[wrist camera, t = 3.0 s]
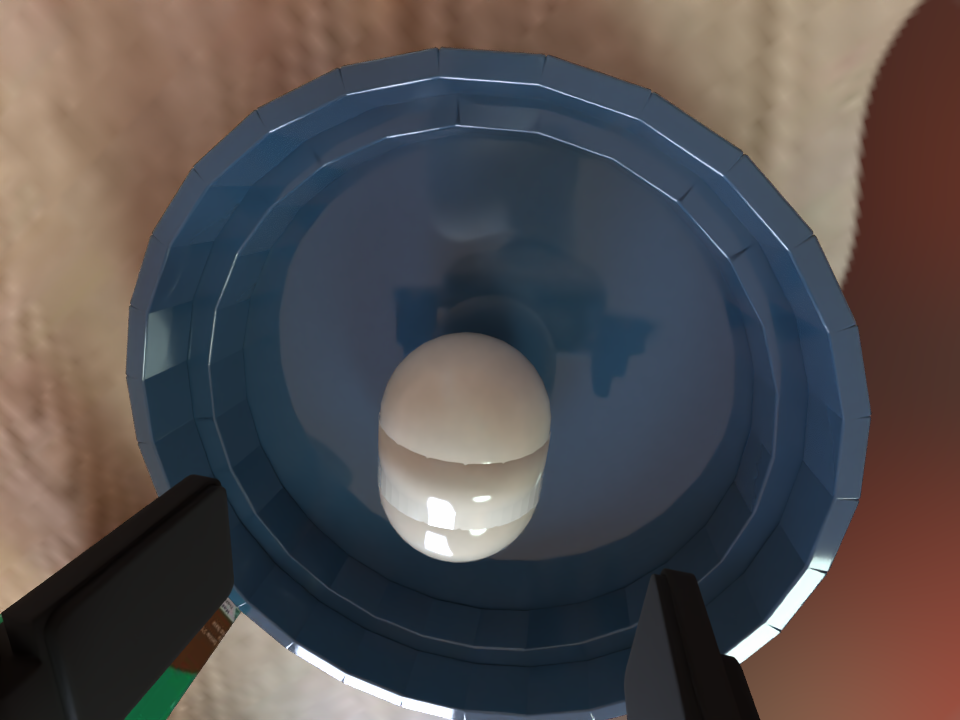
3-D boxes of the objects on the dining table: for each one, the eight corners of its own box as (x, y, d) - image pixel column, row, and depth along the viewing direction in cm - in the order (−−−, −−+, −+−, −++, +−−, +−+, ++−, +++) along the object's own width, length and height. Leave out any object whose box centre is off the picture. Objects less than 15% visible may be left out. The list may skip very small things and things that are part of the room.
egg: (412, 303, 16) (349, 351, 12) (565, 324, 16) (563, 384, 11) (404, 483, 19) (349, 582, 14) (535, 507, 18) (523, 619, 13)
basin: (187, 59, 15) (63, 19, 12) (904, 115, 13) (1042, 87, 9) (237, 573, 22) (171, 651, 19) (704, 675, 20) (734, 789, 16)
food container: (200, 473, 21) (-101, 709, 11) (278, 586, 22) (67, 877, 13) (20, 549, 24) (-319, 775, 15) (97, 642, 26) (-170, 900, 16)
